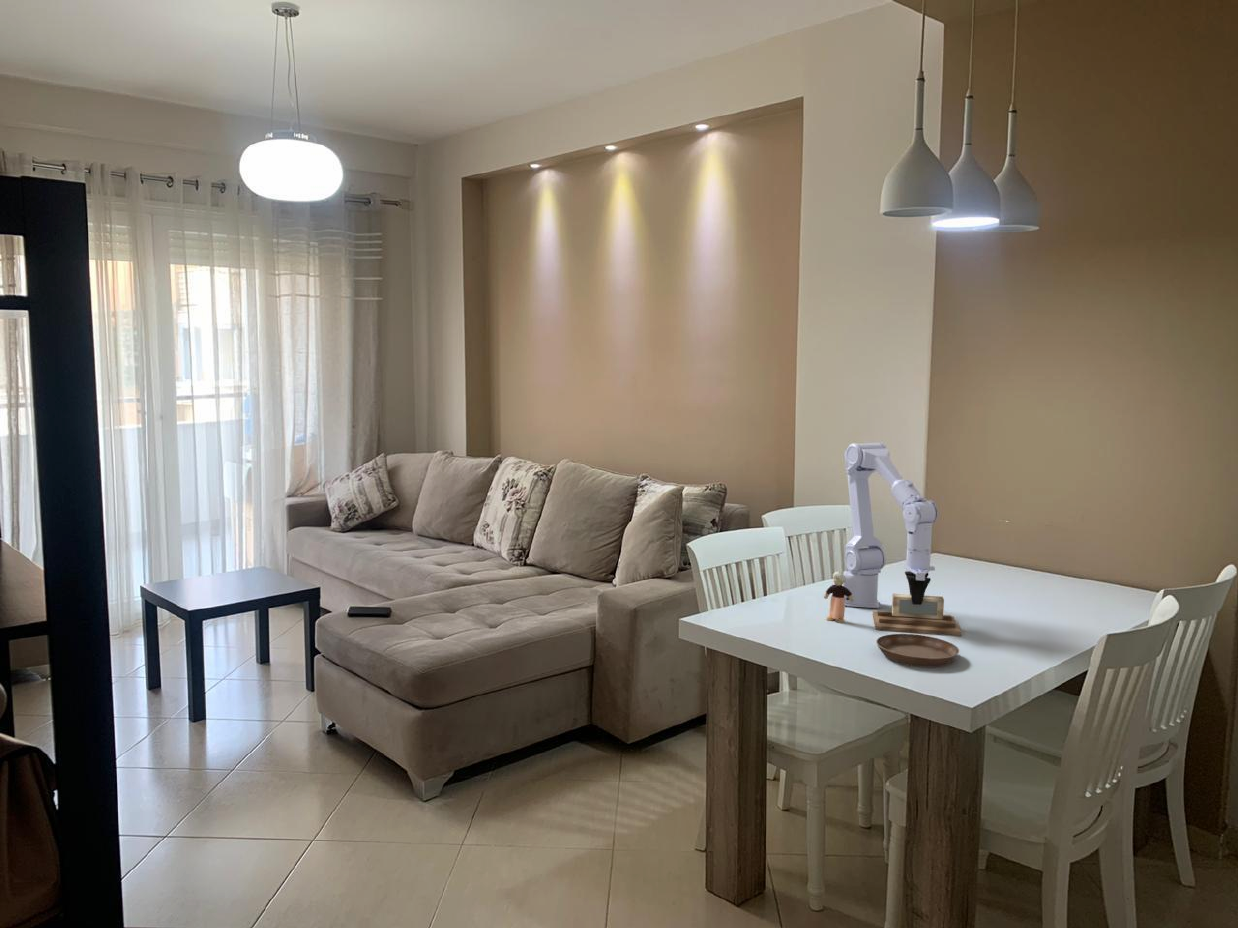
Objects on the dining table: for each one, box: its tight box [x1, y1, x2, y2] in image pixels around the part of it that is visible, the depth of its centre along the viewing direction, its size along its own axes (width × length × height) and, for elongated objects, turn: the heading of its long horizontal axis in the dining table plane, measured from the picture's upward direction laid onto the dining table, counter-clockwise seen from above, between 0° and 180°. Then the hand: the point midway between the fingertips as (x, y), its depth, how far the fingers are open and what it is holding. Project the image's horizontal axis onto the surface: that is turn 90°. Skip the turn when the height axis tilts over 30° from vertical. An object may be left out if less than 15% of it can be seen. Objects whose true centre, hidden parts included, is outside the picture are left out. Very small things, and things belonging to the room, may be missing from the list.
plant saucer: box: [875, 633, 960, 668], centre depth 204 cm, size 18×18×3 cm
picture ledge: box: [872, 610, 962, 637], centre depth 229 cm, size 20×14×2 cm
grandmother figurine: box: [823, 571, 854, 623], centre depth 231 cm, size 8×4×13 cm, turn 68°
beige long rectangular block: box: [891, 593, 945, 619], centre depth 228 cm, size 12×3×5 cm, turn 77°
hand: (916, 602), depth 228 cm, fingers closed on beige long rectangular block, 3 cm apart
